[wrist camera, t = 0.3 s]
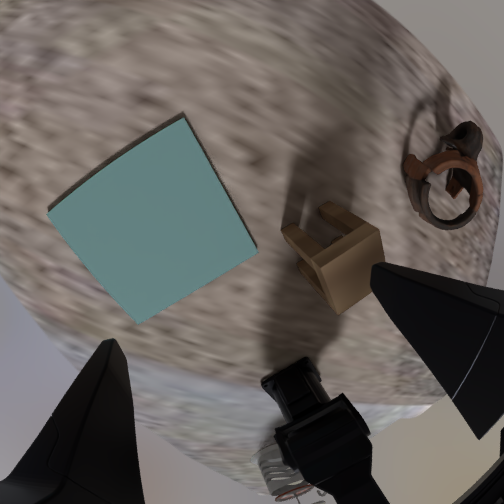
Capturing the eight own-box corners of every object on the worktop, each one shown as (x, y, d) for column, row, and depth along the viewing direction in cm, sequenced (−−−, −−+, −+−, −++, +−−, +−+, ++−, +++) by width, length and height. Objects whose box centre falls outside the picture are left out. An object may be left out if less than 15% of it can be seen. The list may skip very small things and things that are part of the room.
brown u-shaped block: (344, 245, 27) (388, 279, 21) (300, 273, 26) (338, 315, 21) (329, 200, 24) (379, 229, 18) (280, 230, 24) (320, 268, 18)
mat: (257, 250, 24) (258, 252, 24) (138, 321, 23) (138, 324, 23) (183, 117, 18) (183, 117, 17) (48, 212, 17) (46, 214, 17)
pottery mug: (441, 212, 31) (465, 249, 24) (379, 185, 31) (395, 219, 24) (479, 129, 23) (516, 150, 17) (415, 92, 24) (445, 101, 17)
